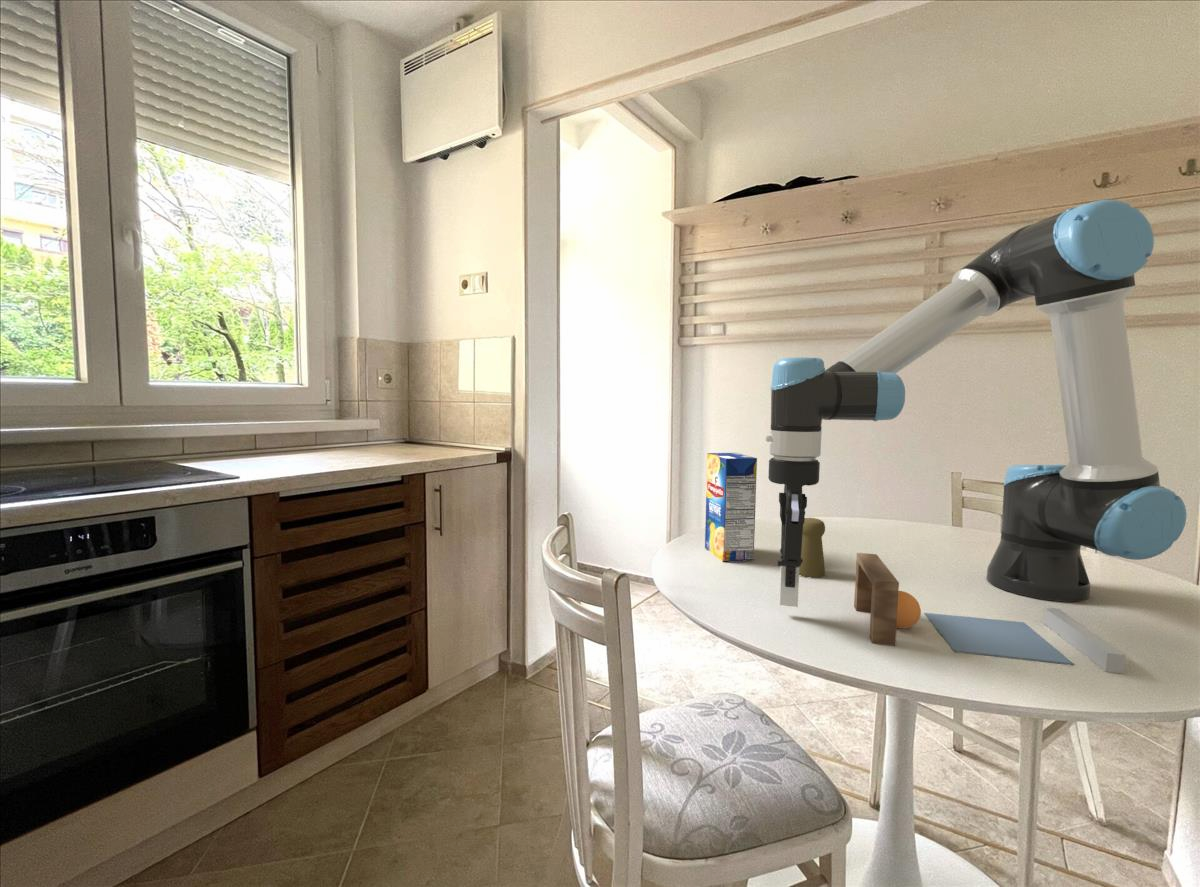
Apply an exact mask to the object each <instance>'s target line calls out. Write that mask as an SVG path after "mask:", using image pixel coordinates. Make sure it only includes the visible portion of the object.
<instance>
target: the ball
mask: <svg viewBox="0 0 1200 887" xmlns="http://www.w3.org/2000/svg"><path fill="white" fill-rule="evenodd" d="M921 613H922V610H921V606H920V603H919V602H918V600H917V599H916V597H914V596H913V595H912V594H910V593H908V592H907V591H903V590H899V591H898V608H897V626H896V628H898V629H908V628H911V627H913V626H915V625H916V624H917V623H918V621H919V620H920V617H921V615H922V614H921Z"/></svg>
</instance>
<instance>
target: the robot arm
mask: <svg viewBox="0 0 1200 887" xmlns="http://www.w3.org/2000/svg"><path fill="white" fill-rule="evenodd" d="M1154 236H1155V235H1154V232H1153V228H1152V227H1151V223H1150V221H1149V220H1148V218H1147V217H1146V215H1145V214H1144V213H1142V212H1141V210H1139V209H1138V208H1136V207H1133V206H1131V205H1130V204H1129V203H1128V202H1125V201H1122V200H1117V199H1102V200H1096V201H1092V202H1089V203H1084V204H1081V205H1079V204H1078V205H1076V206H1074V207H1071V208H1068V209H1066V210H1064V211H1062V212H1059V213H1057V214H1055V215H1052V216H1050V217H1046V218H1044V219H1042V220H1039V221H1038V222H1037V221H1036V222H1035V223H1030V224H1028V225H1025V226H1023V227H1020V228H1018V229H1017V230H1015V231H1013V232H1011V233H1010V234H1008V235H1007V236H1005V237H1003V238H1001V239H1000V240H999V241H998V242H996V243H995V244H993V245H992V246H991V247H989V248H987V249H986V250H985V251H984V252H982V253H981V254H980V255H978V256H977V257H975V259H973V260H971V262H968V263H967V264H966V265H965V266H963V267H962V268H960V269H959V270H957V271H956V272H955V273H954V274H953V275H952V278H951V283H949V284H948V285H946V286H945V287H943V288H941V289H940V290H939V291H937V292H936V293H935V294H933V295H932V296H930V297H929V298H927V299H926V300H924V301H923V302H922V303H920V304H918V306H916V307H915V308H913V309H912V310H910V311H909V312H907V313H906V314H904V315H903V316H901V317H900V318H899V319H897V320H896V321H894V322H893V323H891V324H890V325H889V326H887V327H885V329H882V331H880V332H879V333H877V334H876V335H874V336H873V337H872V338H870V339H868V340H867V341H865V342H864V343H863V344H861V345H860V346H858V347H857V348H856V349H854V350H852V351H851V352H850V353H848V354H847V355H846V356H844V357H843V358H840V359H839V361H838V362H836V363H833V365H831V366H829V367H828V368H827V369H826V368H825V361H824V360H823V359H822V358H820V357H785V358H779V359H777V360H776V361H775V363H774V364H773V367H772V368H773V369H772V374H771V385H770V391H771V392H770V394H771V395H770V397H771V398H770V401H771V402H770V434H771V435H766V437H765V441H766V442H768V443H769V442H770V443H769V454H770V455H771V456H773V457H770V459H769V460H768V480H769V482H771V483H774V484H777V485H783V492H779V493H778V503H779V505H780V506H779V518H780V521H781V529H780V530H781V534H780V536H781V538H780V549H779V552H780V560H777V566H779V567H780V570H779V571H780V576H779V600H778V602H779V606H786V607H795V608H799V584H800V576H799V567H800V566H801V563H803V560H802V558H801V549H802V534H803V524H804V519H805V518H806V516H805V515H806V508H807V507H808V496H806V493H803V487H804V486H807V487H808V486H814V485H817V484H819V482H820V469H821V468H820V467H821V462H819V460H818V459H817V458H819V457H820V456H821V455H822V454H821V453H822V452H821V449H822V432H823V431H822V424H823V420H824V421H831V420H837V421H839V420H840V421H873V422H878V421H890V420H891V421H892V420H894V419H896V418H897V417H898V416H899V415H900V414H901V413H902V411H903V408H904V405H905V402H906V401H905V400H906V387H905V383H904V382H903V379H902V378H901V377H900V375H899V374H897V373H899V372H900V371H901V370H903V369H904V368H906V367H907V366H909V365H910V364H911V363H913V362H915V361H916V360H918V359H920V358H921V357H923V356H924V355H926V353H928V352H929V351H932V349H934V348H935V347H937V346H938V345H939V344H941V343H943V342H944V341H945V340H948V339H949V337H951V336H953V335H954V334H956V333H957V332H958V331H959V332H960V330H962V329H963V328H965V327H966V326H968V325H969V324H970V323H972V322H974V320H976V319H977V318H979V317H990V316H992V315H994V314H995V313H997V312H998V311H1000V310H1001V309H1003V308H1005V307H1006V306H1008V305H1011V304H1014V303H1016V302H1019V301H1022V300H1024V299H1025V300H1026V299H1029V298H1033V297H1034V299H1035V300H1034V301H1035V307H1036V309H1038V310H1040V311H1042V312H1043V313H1045V314H1046V315H1048V317H1049V319H1050V320H1049V321H1050V326H1051V333H1052V334H1051V336H1052V340H1053V341H1052V342H1053V350H1054V356H1055V362H1056V369H1057V377H1058V378H1057V379H1058V384H1059V391H1060V393H1059V394H1060V399H1061V407H1062V413H1063V421H1064V426H1065V427H1064V428H1065V436H1066V444H1067V450H1068V457H1069V458H1068V459H1069V461H1068V463H1067V464H1015V465H1011V466H1010V467H1009V468H1008V469H1006V472H1005V478H1004V483H1003V485H1002V487H1003V496H1002V498H1003V499H1002V512H1001V514H1002V515H1001V530H1000V531H1001V533H1000V540H999V544H998V546H997V548H996V550H995V552H994V554H993V556H992V558H991V560H990V562H989V564H988V566H987V570H986V580H987V582H988V583H989V584H991V585H992V586H994V587H997V588H999V589H1001V590H1003V591H1007V592H1009V593H1010V592H1011V593H1013V594H1016V595H1021V596H1025V597H1030V598H1034V599H1035V598H1036V599H1041V600H1047V601H1055V602H1057V601H1058V602H1082V601H1086V600H1088V599H1089V598H1090V594H1091V582H1090V579H1089V576H1088V573H1087V570H1086V566H1085V563H1084V561H1083V558H1082V555H1081V547H1084V548H1088V549H1091V550H1094V551H1097V552H1100V553H1102V554H1105V555H1107V556H1111V557H1119V558H1124V559H1126V560H1132V561H1133V560H1134V561H1136V560H1138V561H1139V560H1140V561H1141V560H1148V559H1151V558H1154V557H1157V556H1159V555H1161V554H1163V553H1165V552H1166V551H1168V550H1170V548H1171V547H1172V545H1173V544H1174V543H1175V542H1176V541H1178V540H1179V539H1180V537H1181V535H1182V533H1183V532H1184V528H1185V526H1186V523H1187V521H1186V520H1187V515H1188V514H1187V508H1186V505H1185V503H1184V500H1183V499H1182V498H1181V496H1179V495H1177V494H1176V492H1175V491H1172V490H1171V489H1170V488H1167V487H1164V486H1161V482H1160V475H1159V474H1160V473H1159V469H1158V466H1156V465H1155V464H1154V463H1152V462H1150V461H1149V460H1148V459H1146V458H1145V457H1143V451H1142V442H1141V436H1140V435H1141V434H1140V426H1139V419H1138V418H1139V417H1138V412H1137V411H1138V410H1137V409H1138V408H1137V403H1136V395H1135V386H1134V378H1133V371H1132V370H1133V369H1132V363H1131V355H1130V354H1131V353H1130V347H1129V345H1130V344H1129V339H1128V332H1127V330H1128V329H1127V324H1126V323H1127V322H1126V315H1125V313H1126V312H1125V308H1124V307H1125V306H1124V301H1125V300H1126V298H1127V297H1128V296H1129V295H1130V294H1131V293H1132V292H1133V291H1134V290H1135V289H1136V286H1137V285H1136V281H1135V278H1136V277H1135V274H1136V273H1137V272H1139V271H1140V270H1141V269H1143V267H1145V265H1146V264H1147V263H1148V257H1151V255H1152V253H1153V252H1154V244H1155V237H1154Z"/></svg>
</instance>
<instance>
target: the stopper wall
mask: <svg viewBox="0 0 1200 887" xmlns="http://www.w3.org/2000/svg"><path fill="white" fill-rule="evenodd" d="M1042 619H1043V620H1042V623H1043V624H1044V625H1045V626H1046V625H1047V626H1048V627H1047V626H1046V627H1047V628H1049V629H1050V628H1051V629H1052V630H1051V629H1050V630H1051V631H1052V632H1054V633H1055V632H1056V633H1057V634H1056V633H1055V634H1056V635H1058V634H1059V635H1060V636H1061V637H1060V636H1059V635H1058V636H1059V637H1060V638H1061V639H1063V638H1064V639H1065V640H1066V641H1065V640H1064V639H1063V640H1064V641H1065V642H1067V643H1068V642H1069V643H1070V644H1069V643H1068V644H1069V645H1071V646H1072V647H1073V646H1074V647H1075V648H1074V647H1073V648H1074V649H1076V650H1077V649H1078V650H1079V651H1078V650H1077V651H1078V652H1079V653H1081V654H1082V653H1083V654H1084V655H1083V654H1082V655H1083V656H1084V657H1086V656H1087V657H1088V658H1087V657H1086V658H1087V659H1089V660H1090V659H1091V660H1092V661H1093V662H1092V661H1091V660H1090V661H1091V662H1092V663H1094V662H1095V663H1096V664H1097V665H1096V664H1095V663H1094V664H1095V665H1096V666H1097V667H1099V666H1100V667H1101V668H1102V669H1101V668H1100V667H1099V668H1100V669H1101V670H1103V671H1104V672H1107V673H1114V674H1122V673H1123V674H1125V669H1126V668H1125V667H1126V656H1127V654H1125V653H1124V652H1122V651H1121V650H1120V649H1118V648H1116V647H1115V646H1114V645H1112V644H1111V643H1109V642H1108V641H1106V640H1105V639H1103V638H1102V637H1101V636H1099V635H1098V634H1096V633H1094V632H1093V631H1091V629H1089V628H1087V627H1086V626H1085V625H1083V624H1082V623H1081V622H1079V621H1077V620H1076V619H1074V617H1072V616H1070V615H1069V614H1068V613H1066V612H1065V611H1063V610H1062V609H1061V608H1051V607H1044V609H1043V618H1042Z"/></svg>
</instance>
